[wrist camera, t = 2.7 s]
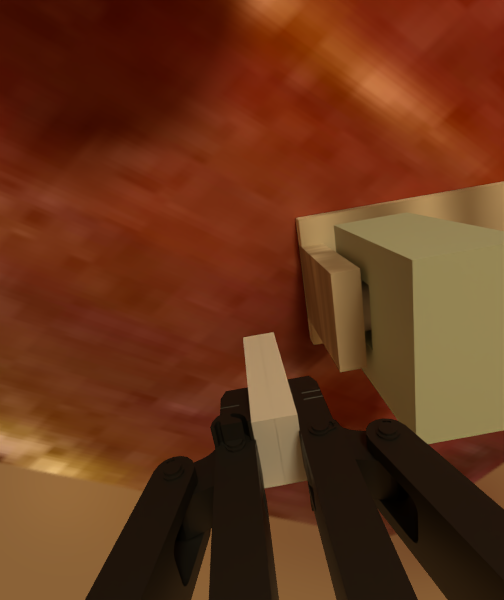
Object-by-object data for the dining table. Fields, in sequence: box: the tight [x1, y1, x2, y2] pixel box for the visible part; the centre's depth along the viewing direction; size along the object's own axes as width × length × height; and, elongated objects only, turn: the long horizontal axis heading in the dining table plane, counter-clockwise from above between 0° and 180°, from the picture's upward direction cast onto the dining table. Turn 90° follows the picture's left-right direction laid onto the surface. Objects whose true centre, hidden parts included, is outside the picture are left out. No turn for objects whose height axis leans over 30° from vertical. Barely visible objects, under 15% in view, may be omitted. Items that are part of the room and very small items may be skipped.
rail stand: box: [296, 182, 504, 372], centre depth 25 cm, size 23×10×9 cm, turn 99°
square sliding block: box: [334, 212, 504, 444], centre depth 21 cm, size 5×9×11 cm, turn 9°
